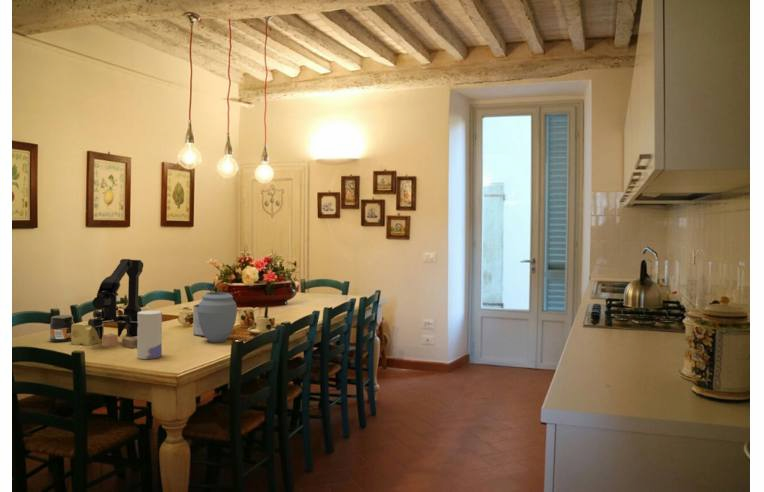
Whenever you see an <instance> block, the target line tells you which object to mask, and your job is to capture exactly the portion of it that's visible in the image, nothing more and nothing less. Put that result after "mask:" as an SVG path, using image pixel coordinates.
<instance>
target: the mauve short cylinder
mask: <svg viewBox="0 0 764 492" xmlns="http://www.w3.org/2000/svg"><path fill="white" fill-rule="evenodd" d="M122 346H123V348H127V349H130V350H133V349H137V336H128V337H123V338H121V347H122Z"/></svg>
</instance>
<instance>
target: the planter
mask: <svg viewBox="0 0 764 492" xmlns="http://www.w3.org/2000/svg"><path fill="white" fill-rule="evenodd" d="M198 306H199V303H198V304H195V305H193V316H192V317H193V318H192V319H193V321H192V323H193V325H192V333H193V334H194V335H195V336H197V337H205V335H204V334H203V332H202V329H201V326H200V323H199V318H198V311H197V310H198Z"/></svg>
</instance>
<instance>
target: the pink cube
mask: <svg viewBox="0 0 764 492" xmlns="http://www.w3.org/2000/svg"><path fill="white" fill-rule="evenodd" d="M118 339H119V337H118V334H114V333H107V334H103V335H102V342H101V346H103V347H108V348H109V347H114V346H118V342H119V341H118Z"/></svg>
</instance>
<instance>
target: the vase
mask: <svg viewBox="0 0 764 492" xmlns="http://www.w3.org/2000/svg"><path fill="white" fill-rule="evenodd" d="M233 298H234V296H233V295H232V294H230V292H228V291H227V292H225V291H213V292H212V291H211V292H207V293H204V294H203V296H202V298H201V301H200V302H199V303H198V304H199V306H198V310H197V311H198V318H199V323H200V326H201V329H202V332H203V334H204V335H205V336H204V337H205V339H207V341H209V342H210V343H223V341H224V342H225V341H227V340H228V339H229V337H230V335H231V333H232V332H233V329H234V327H235V324H236V320H237V314H238V306H237V302H236V301H235V300H234V299H233Z"/></svg>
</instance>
